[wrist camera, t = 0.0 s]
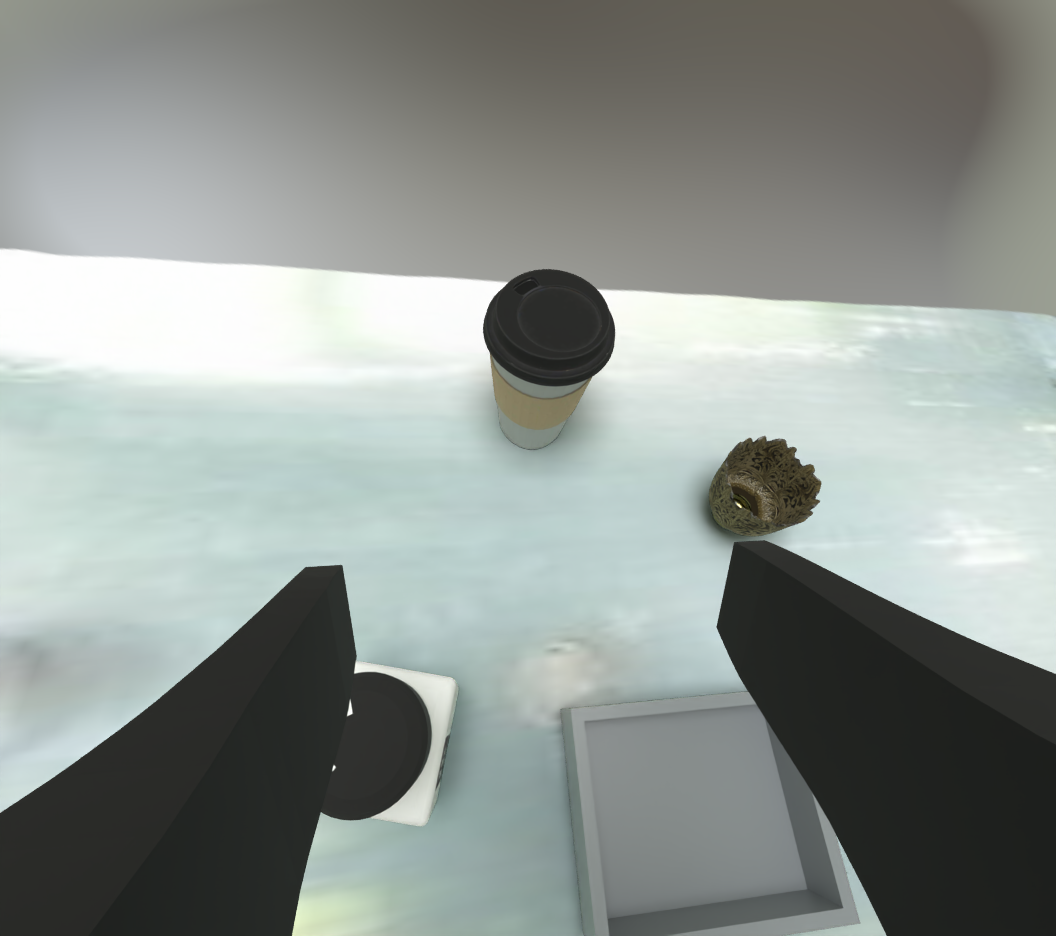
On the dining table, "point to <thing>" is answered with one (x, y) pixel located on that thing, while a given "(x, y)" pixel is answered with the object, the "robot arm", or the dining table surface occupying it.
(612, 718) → the grey crate
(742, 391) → the dining table surface
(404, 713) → the container
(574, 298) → the coffee cup
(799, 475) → the cup
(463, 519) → the dining table surface
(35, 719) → the dining table surface
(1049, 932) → the robot arm
